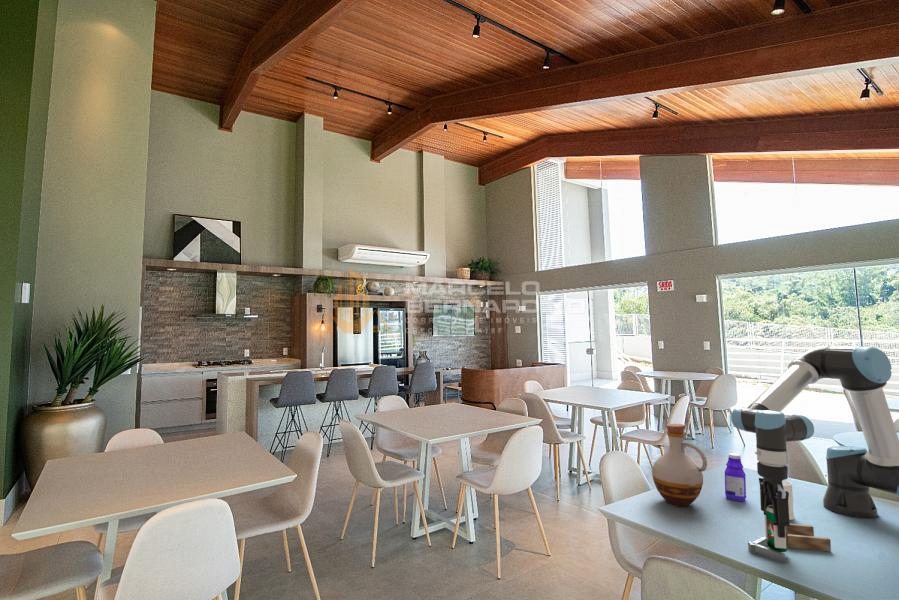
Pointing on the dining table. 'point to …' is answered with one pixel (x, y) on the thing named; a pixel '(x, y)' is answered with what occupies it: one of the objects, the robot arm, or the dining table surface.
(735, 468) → the bottle
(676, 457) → the jug
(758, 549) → the v block
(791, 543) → the guide channel
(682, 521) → the dining table surface
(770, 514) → the soda can
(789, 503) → the mug
